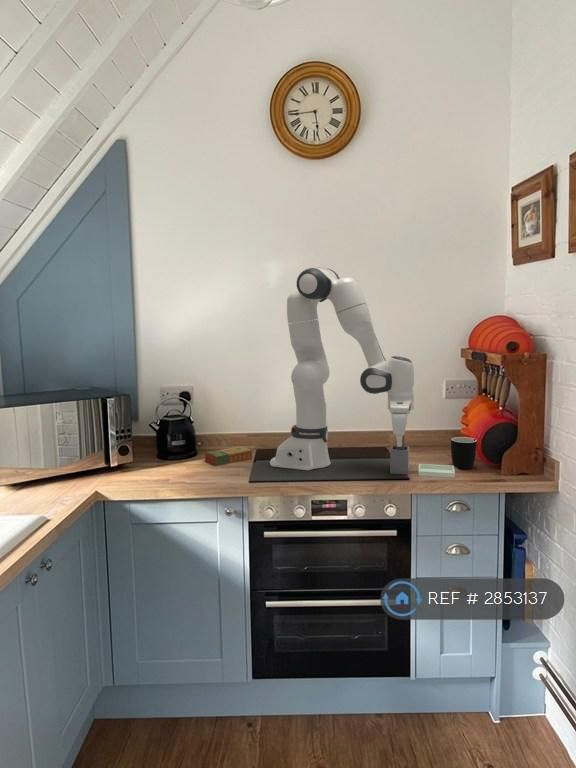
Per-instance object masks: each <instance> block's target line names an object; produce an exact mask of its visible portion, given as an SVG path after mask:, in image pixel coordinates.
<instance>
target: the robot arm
mask: <svg viewBox="0 0 576 768" xmlns="http://www.w3.org/2000/svg"><path fill="white" fill-rule="evenodd" d="M296 289H297V290H296V291H294V292H291V294H289V295H288V297H287V299H286V317H287V326H288V331H289V338H290V345H291V347H292V349H293V351H294V354H295V358H296V361H297V364H296V365H295V366H294V368H293V369H292V372H291V375H290V380H291V383H292V386H293V393H294V394H293V395H294V399H295V400H294V402H295V410H296V411H295V412H296V415H295V418H296V422H295V423H296V424H293V426H292V427H291V428H290V435H291V436H289V437H288V438H287V439H286V440H284V441H283V442H282V443H281V444H279V445H278V447H277V449H276V452H275V453H276V454H275V456H274V457H272V458H271V459H270V461H269V465H270V466H271V467H275V468H284V469H293V470H302V471H311V470H314V469H315V470H316V469H322V468H326V467H328V466H330V465H331V463H332V462H331V460H330V456H329V451H328V450H329V449H328V440H329V430H328V425H327V404H326V399H325V392H324V385H325V384H326V382H327V381H328V379H329V378H330V367H329V364H328V361H327V360H328V359H327V355H326V351H325V349H324V346H323V345H324V344H323V342H322V336H321V328H320V321H319V316H318V304H319V303H322V302H323V303H324V302H325V301H326V300H329V301H330V302H331V304H332V306H333V308H334V311H335V313H336V318H337V320H338V323H339V324H340V326H341V327H342V329H343V331H344V332H345V333H346V334H348V335H349V336H350V337H352V338H353V339H355V340H356V341H357V343H358V344H359V346H360V348H361V351H362V353H363V356H364V358H365V360H366V361H365V362H366V363H367V368H366V369H365V370H363V372H362V373H361V375H360V379H359V381H360V386H361V388H362V390H364V391H365V392H367V393H369V394H372V395H377V394H378V395H379V394H380V393H381V394H382V393H387V409H388V410H389V413H391V425H392V432H393V435H394V436H395V441H396V440H397V446H398V447H401V446H402V437H403V435H404V434H405V433H406V429H407V423H408V422H407V421H408V416H409V414H410V413H411V411H413V410H414V405H415V402H414V401H415V395H414V384H415V372H414V371H415V370H414V364H413V361H412V360H411V359H409V358H407V357H405V356H396V355H395V356H390V357H389V358H388V359H386V357H385V356H384V354H383V351H382V349H381V346H380V343H379V341H378V338H377V336H376V333H375V329H374V325H373V323H372V322H373V321H372V318H371V314H370V310H369V306H368V305H367V304H368V303H367V301H366V298H365V296H364V294H363V292H362V290H361V287H360V285H359V284H358V283H357V281H356V280H355V279H354V278H353V277H347V276H344V277H341V278H340V277H339V275H338V274H337V272H336V271H334V270H333V269H330V268H326V267H325V268H324V267H309V268H306V269H304V270H303V271H301V272H300V273H299V275H298V276H297V279H296Z"/></svg>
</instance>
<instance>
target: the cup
mask: <svg viewBox="0 0 576 768" xmlns="http://www.w3.org/2000/svg"><path fill="white" fill-rule="evenodd" d="M389 456H390V457H389V458H390V460H389V465H390V466H389V474H390V475H391V474H394V475H409V472H410V446H409V445H404V450H398V449H396V445H391V446H390V451H389Z"/></svg>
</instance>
